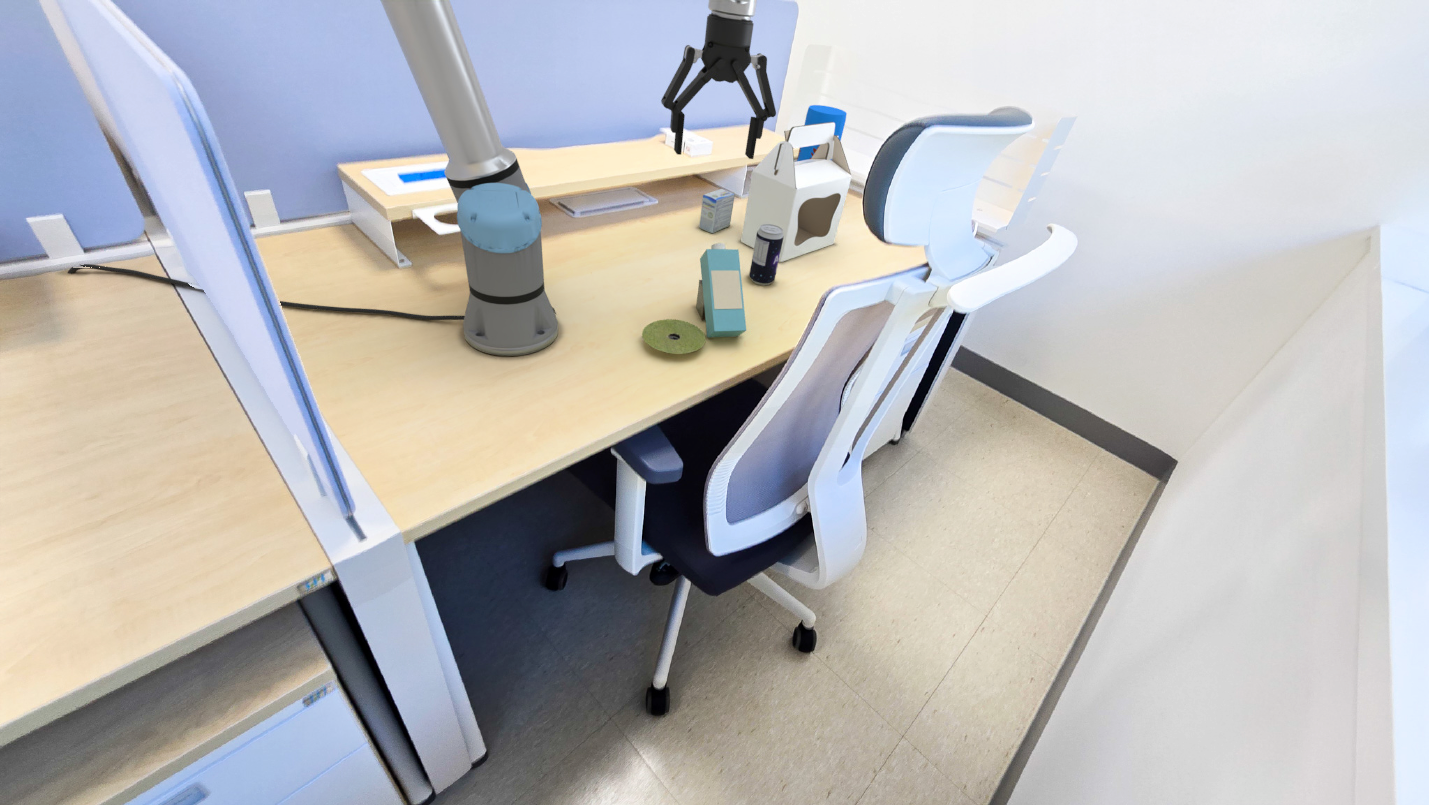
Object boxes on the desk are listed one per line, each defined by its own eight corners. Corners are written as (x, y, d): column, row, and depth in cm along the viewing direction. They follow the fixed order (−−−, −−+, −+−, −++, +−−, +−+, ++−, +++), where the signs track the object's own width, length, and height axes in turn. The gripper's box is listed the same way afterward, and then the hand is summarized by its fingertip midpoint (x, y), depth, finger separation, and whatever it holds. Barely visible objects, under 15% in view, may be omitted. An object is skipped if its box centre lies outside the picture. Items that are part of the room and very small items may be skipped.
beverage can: (772, 289, 124) (783, 236, 117) (746, 283, 125) (756, 230, 117) (775, 278, 129) (786, 226, 121) (750, 272, 129) (760, 221, 122)
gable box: (795, 225, 155) (820, 113, 138) (834, 244, 149) (865, 128, 132) (739, 242, 142) (759, 119, 125) (779, 263, 135) (806, 137, 118)
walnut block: (701, 320, 110) (705, 292, 107) (695, 307, 114) (699, 279, 110) (726, 319, 112) (731, 292, 108) (719, 306, 115) (724, 279, 112)
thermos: (788, 202, 169) (807, 110, 154) (790, 191, 178) (808, 102, 162) (824, 209, 169) (847, 117, 153) (825, 197, 177) (847, 109, 162)
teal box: (711, 348, 103) (722, 274, 94) (693, 307, 114) (701, 238, 105) (743, 346, 105) (756, 274, 96) (722, 307, 115) (732, 239, 107)
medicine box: (716, 221, 151) (721, 187, 146) (730, 226, 149) (735, 193, 144) (698, 228, 146) (702, 194, 140) (712, 234, 144) (717, 199, 138)
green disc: (629, 336, 103) (630, 327, 102) (681, 322, 109) (682, 313, 108) (664, 369, 96) (665, 359, 95) (716, 352, 102) (718, 343, 101)
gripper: (658, 8, 85) (649, 156, 98) (811, 28, 92) (784, 164, 105) (649, 2, 91) (642, 143, 104) (794, 21, 98) (771, 152, 111)
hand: (713, 154), depth 105 cm, fingers open, 13 cm apart
